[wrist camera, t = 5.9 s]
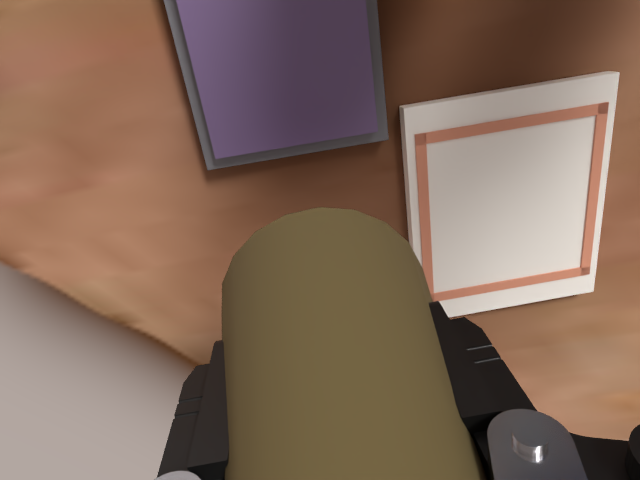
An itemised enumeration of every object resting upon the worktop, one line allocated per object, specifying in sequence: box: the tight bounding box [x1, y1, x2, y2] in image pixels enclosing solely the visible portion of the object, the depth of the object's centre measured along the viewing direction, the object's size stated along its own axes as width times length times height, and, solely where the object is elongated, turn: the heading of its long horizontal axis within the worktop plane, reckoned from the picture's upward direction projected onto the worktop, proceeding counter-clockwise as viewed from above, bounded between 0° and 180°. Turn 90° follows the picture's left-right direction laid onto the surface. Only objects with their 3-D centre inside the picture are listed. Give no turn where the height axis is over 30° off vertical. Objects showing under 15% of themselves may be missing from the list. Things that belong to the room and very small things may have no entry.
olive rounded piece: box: [222, 207, 487, 480], centre depth 8 cm, size 6×6×11 cm
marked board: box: [399, 71, 620, 318], centre depth 28 cm, size 14×12×1 cm
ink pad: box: [164, 0, 389, 170], centre depth 22 cm, size 11×10×2 cm
